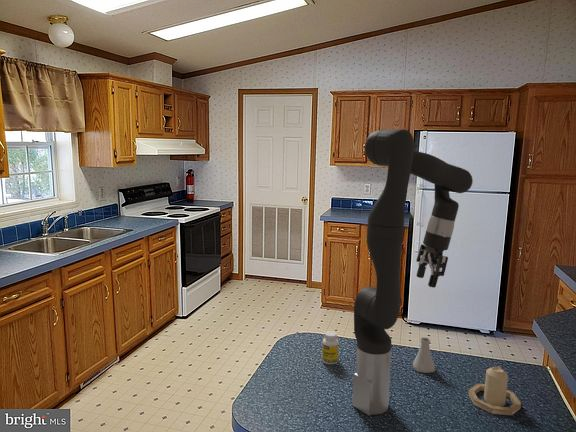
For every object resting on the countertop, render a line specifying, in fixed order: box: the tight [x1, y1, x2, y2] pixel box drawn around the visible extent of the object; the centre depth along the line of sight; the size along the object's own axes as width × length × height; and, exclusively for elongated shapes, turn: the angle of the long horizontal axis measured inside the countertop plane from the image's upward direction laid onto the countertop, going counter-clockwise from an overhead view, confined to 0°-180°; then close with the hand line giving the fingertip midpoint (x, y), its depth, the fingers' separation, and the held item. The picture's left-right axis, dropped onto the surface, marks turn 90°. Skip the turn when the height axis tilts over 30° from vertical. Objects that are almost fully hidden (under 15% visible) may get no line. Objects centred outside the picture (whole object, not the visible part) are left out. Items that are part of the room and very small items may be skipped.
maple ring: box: [468, 383, 522, 416], centre depth 120 cm, size 12×12×2 cm
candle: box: [483, 365, 509, 407], centre depth 119 cm, size 6×6×10 cm
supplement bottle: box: [321, 330, 339, 365], centre depth 141 cm, size 5×5×10 cm
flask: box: [412, 336, 436, 374], centre depth 137 cm, size 7×7×10 cm
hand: (425, 282), depth 132 cm, fingers open, 8 cm apart
